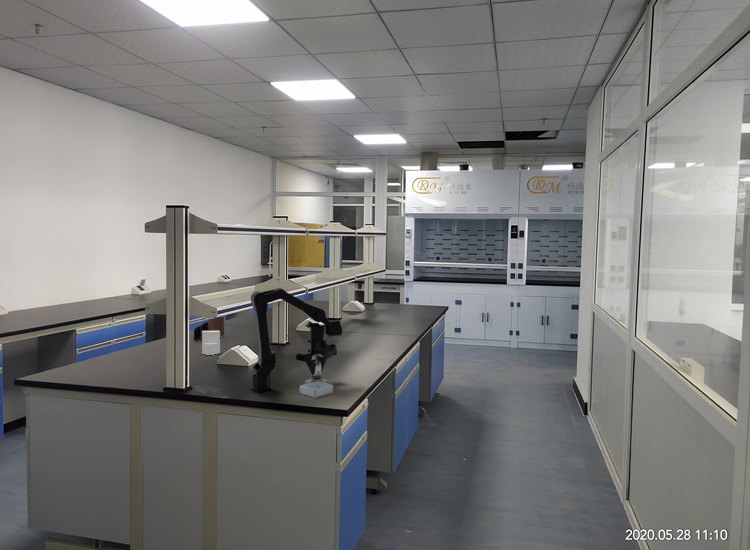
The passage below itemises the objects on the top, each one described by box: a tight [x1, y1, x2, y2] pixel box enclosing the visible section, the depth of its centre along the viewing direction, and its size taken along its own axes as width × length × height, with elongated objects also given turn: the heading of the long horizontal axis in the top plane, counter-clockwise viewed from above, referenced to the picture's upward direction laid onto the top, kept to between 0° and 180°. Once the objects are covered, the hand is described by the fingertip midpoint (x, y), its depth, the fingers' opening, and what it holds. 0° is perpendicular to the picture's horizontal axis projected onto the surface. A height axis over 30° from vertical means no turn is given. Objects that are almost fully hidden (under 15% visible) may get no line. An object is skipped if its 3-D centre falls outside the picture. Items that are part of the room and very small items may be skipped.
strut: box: [311, 361, 322, 379], centre depth 223 cm, size 4×6×7 cm, turn 49°
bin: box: [298, 381, 334, 399], centre depth 209 cm, size 10×9×3 cm
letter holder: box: [193, 316, 225, 342], centre depth 317 cm, size 10×20×14 cm, turn 170°
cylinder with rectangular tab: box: [201, 331, 221, 356], centre depth 277 cm, size 9×9×12 cm
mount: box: [304, 376, 329, 385], centre depth 222 cm, size 7×7×2 cm
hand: (316, 374), depth 222 cm, fingers closed on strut, 4 cm apart
